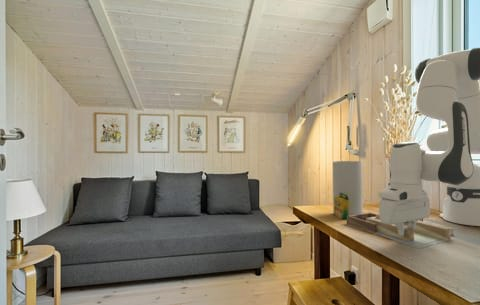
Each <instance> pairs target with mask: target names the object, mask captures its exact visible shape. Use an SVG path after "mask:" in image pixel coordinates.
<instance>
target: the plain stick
mask: <svg viewBox="0 0 480 305" xmlns="http://www.w3.org/2000/svg"><path fill="white" fill-rule="evenodd" d="M414 231H415V232H418V233H422V234H425V235H429V236H433V237H436V238H440V239H443V240H449V239H451V237H452V236H451V232H452V230H451V227H447V226H443V225H438V224H434V223H430V222H427V221H423V222H422V221H417V223H416V226H415V228H414ZM449 241H450V240H449Z"/></svg>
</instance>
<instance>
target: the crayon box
mask: <svg viewBox="0 0 480 305" xmlns="http://www.w3.org/2000/svg"><path fill="white" fill-rule="evenodd" d="M342 195H344V196H345V197H343V196H342ZM333 215H334V217H336V218H338V219H340V220H342V221H343V220H345V221H347V216H349V213H348V195H345V194H342V193H340V197H334V213H333Z"/></svg>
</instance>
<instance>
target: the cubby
mask: <svg viewBox="0 0 480 305" xmlns="http://www.w3.org/2000/svg"><path fill="white" fill-rule="evenodd" d="M376 214H377V213H374V212H369V211H368V212H363V213H362V214H356V215H350V216H347V220H346V225H347V224H350V225H353V226H356V227H359V228H362V229H365V230H368V231H371V232H374V233H376V232H377V224H375V223H372V222H368V221H366V218H370V217H376ZM350 225H349V226H350ZM353 226H352V227H353ZM356 227H355V228H356ZM359 228H358V229H359ZM362 229H361V230H362ZM365 230H364V231H365ZM368 231H367V232H368ZM371 232H370V233H371ZM374 233H373V234H374Z"/></svg>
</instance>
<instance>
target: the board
mask: <svg viewBox="0 0 480 305" xmlns="http://www.w3.org/2000/svg"><path fill="white" fill-rule="evenodd" d="M346 225H347V226H350V227H353V228H356V229H359V230H361V231H364V232H365V231H366V232H368V233H371V234H375V235H378V236H380V237H384V238H386V239H390V240H392V241H395V242H399V243H401V244H405V245H408V246H410V247H414V248H416V249H423V248H426V247H431V246H434V245H435V246H436V245H437V244H440V243H441V244H442V243H445V242H448V241H452V240H456V239H457V238H456V237H452V236H451V239H449V240H443V239H440V238H436V237H433V236H429V235H425V234H422V233H418V232H415V231H414V240H411V241H408V240H405V239H401V238H398V237H395V236H392V235H388V234H385V233H382V232H379V231H377V232H376V233H374V232H371V231H368V230H365V229H362V228H359V227H356V226H353V225H350V224H347V223H346ZM403 226H405V227H408V224H404V225H403Z"/></svg>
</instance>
